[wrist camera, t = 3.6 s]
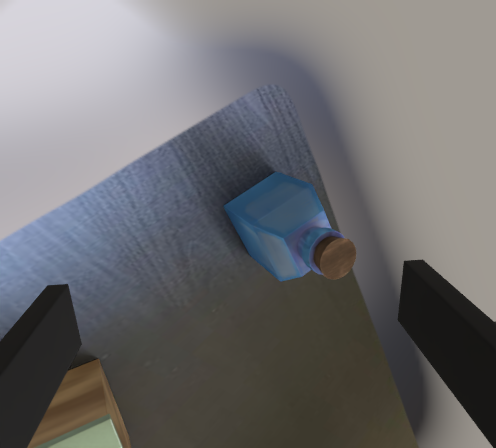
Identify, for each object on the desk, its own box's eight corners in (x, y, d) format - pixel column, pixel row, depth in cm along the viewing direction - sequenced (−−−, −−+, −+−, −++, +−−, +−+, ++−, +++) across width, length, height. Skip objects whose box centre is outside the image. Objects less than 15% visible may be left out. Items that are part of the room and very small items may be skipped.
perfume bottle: (275, 171, 38) (358, 200, 27) (298, 222, 40) (381, 266, 30) (223, 206, 36) (289, 250, 26) (250, 255, 39) (319, 314, 29)
